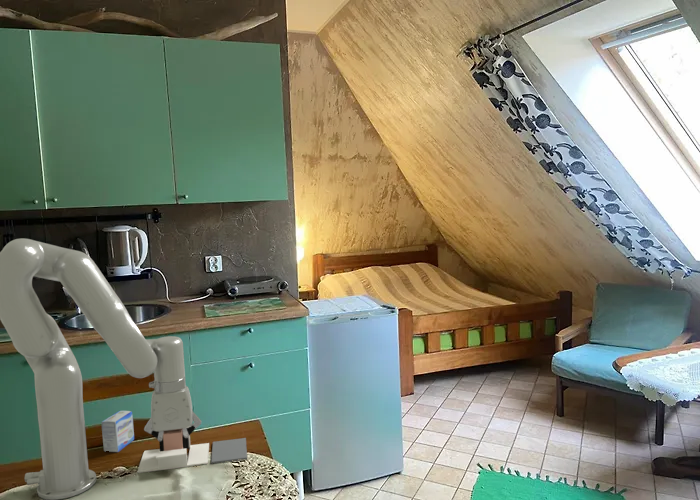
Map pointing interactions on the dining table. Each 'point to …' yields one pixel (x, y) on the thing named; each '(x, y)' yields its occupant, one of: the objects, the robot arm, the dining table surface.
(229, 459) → the mat
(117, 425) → the medicine box
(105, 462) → the dining table surface
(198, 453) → the carton
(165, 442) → the box
